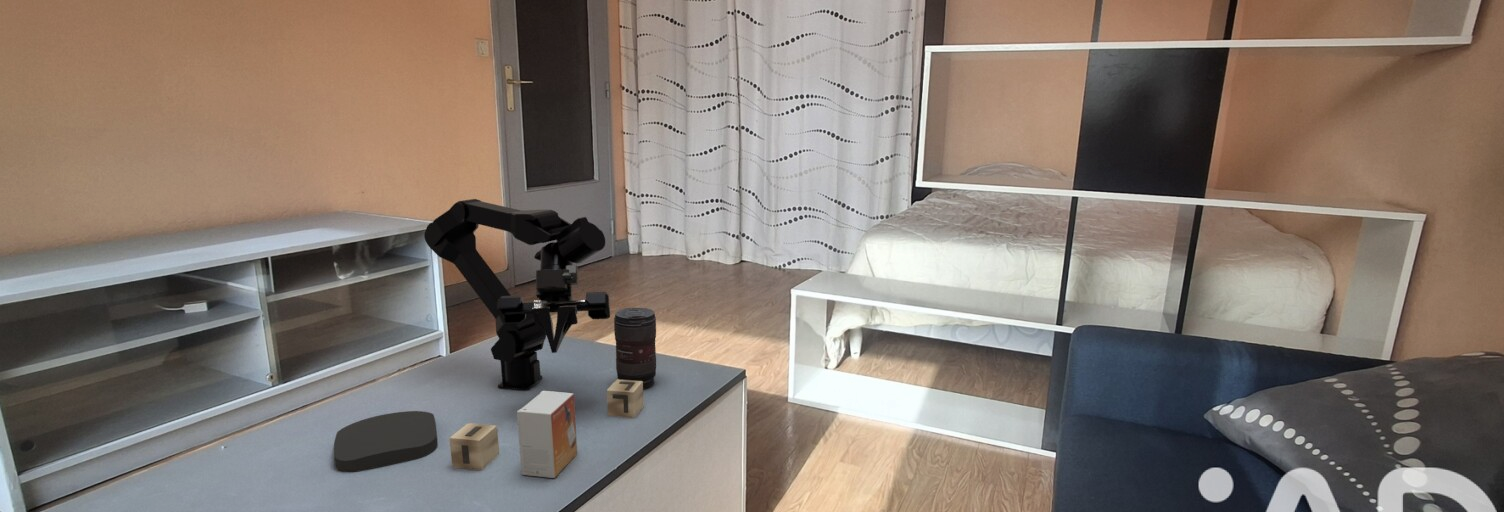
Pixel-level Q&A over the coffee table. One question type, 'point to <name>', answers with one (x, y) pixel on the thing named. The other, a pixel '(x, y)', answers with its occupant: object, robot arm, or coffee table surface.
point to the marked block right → (625, 398)
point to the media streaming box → (385, 440)
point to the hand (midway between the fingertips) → (554, 351)
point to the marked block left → (474, 446)
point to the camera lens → (635, 345)
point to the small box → (547, 434)
